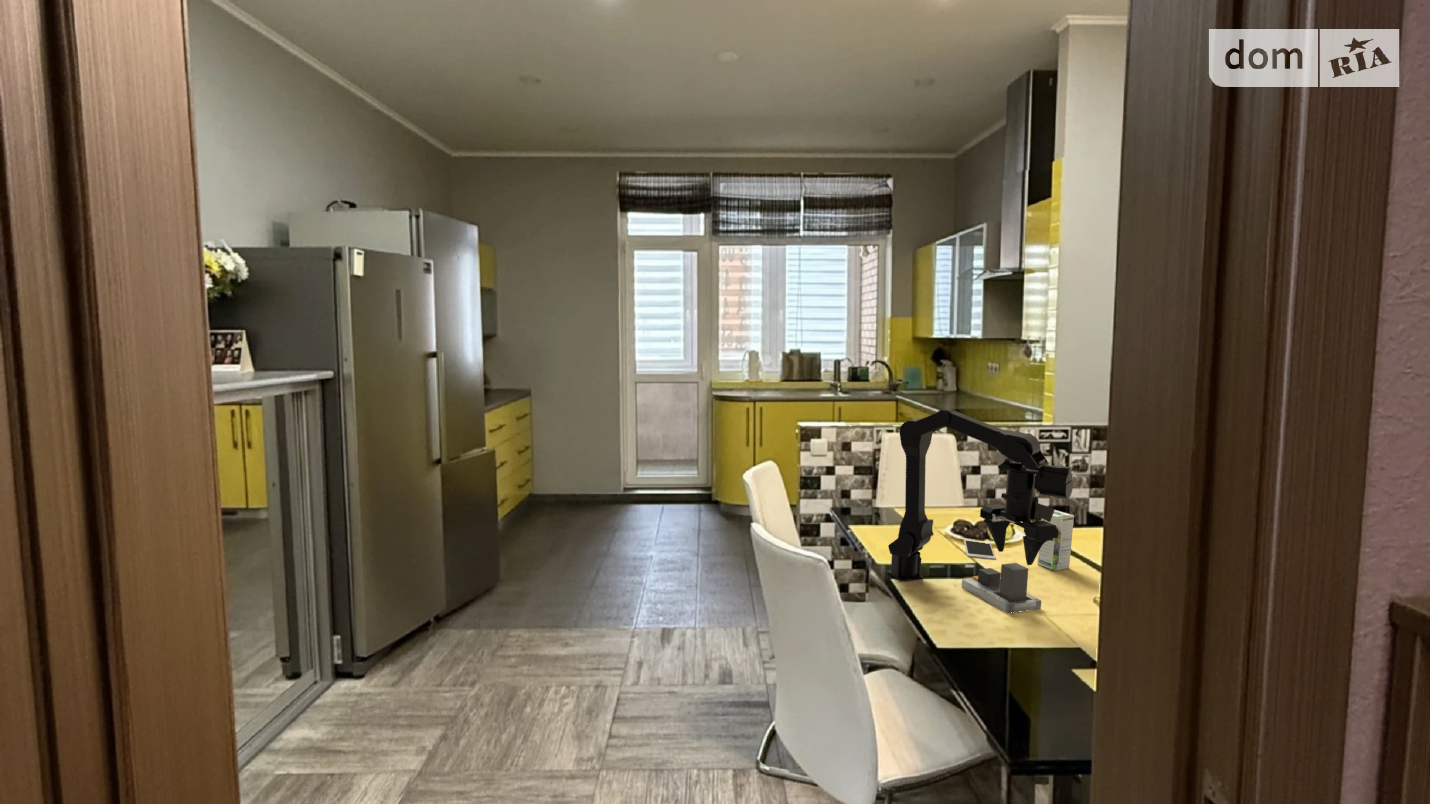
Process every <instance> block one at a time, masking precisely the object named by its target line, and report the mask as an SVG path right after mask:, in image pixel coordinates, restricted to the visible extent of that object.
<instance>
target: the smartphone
mask: <svg viewBox="0 0 1430 804" xmlns="http://www.w3.org/2000/svg"><path fill="white" fill-rule="evenodd" d="M967 539H968V538H963V542H964V546H965V551H966V557H968V558H973V559H975V558H976V559H985V560H996V555H995V551H994V550H993V547H992V543H991V544H985V543H979V542H973V541H969V540H967Z"/></svg>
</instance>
